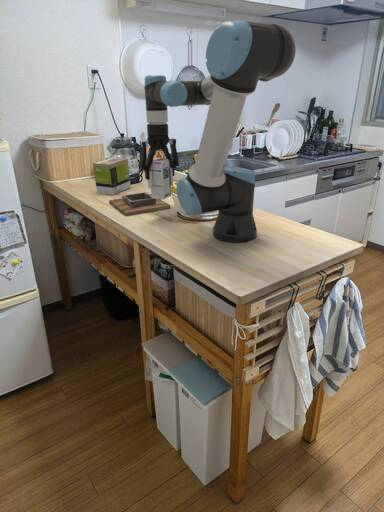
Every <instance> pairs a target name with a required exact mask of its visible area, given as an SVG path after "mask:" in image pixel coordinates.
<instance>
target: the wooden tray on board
mask: <svg viewBox="0 0 384 512" xmlns="http://www.w3.org/2000/svg"><path fill="white" fill-rule="evenodd" d="M108 202H109V205H111V206H112V207H113V208H114V209H115V210H116V211H118V212H119V213H121V214H122V215H123V216H125V217H130V216H134V215H135V216H136V215H141V214H145V213H146V214H147V213H151V212H152V213H153V212H157V211H165V210H170V209H171V204H169V203H168V202H166V201H164V200H163V199H154V198H152V197H151V193H147V192H146V191H145V192H138V193H132V194H131V193H130V194H125V195H121V198H115V199H109V200H108Z"/></svg>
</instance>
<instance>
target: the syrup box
mask: <svg viewBox="0 0 384 512" xmlns="http://www.w3.org/2000/svg"><path fill="white" fill-rule="evenodd" d="M150 171H152V184H153V189H150V194H151V197H152V198H154V199H161V200H162V201H164V200H165V199H168V198H169V197H171V196H172V187H171V185H170V166H169V160H168V159H167V158H166V157H155V158H153V161H152V164H151V167H150Z"/></svg>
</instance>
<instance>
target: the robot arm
mask: <svg viewBox="0 0 384 512" xmlns="http://www.w3.org/2000/svg"><path fill="white" fill-rule="evenodd" d="M205 49H206V50H205V59H206V62H205V65H206V66H205V67H206V69H207V72H208V74H209V75H208V76H206V77H205V78H202V79H201V80H167V77H166V76H165V75H162V74H156V75H155V74H153V75H148V74H147V75H146V76H144V87H143V88H144V89H143V90H144V97H145V98H144V99H145V109H146V110H145V113H146V115H145V116H146V123H148V124H146V130H147V131H146V132H147V139H146V140H140V141H139V145H140V146H139V147H140V155H139V158H140V159H139V169H140V170H143V171H144V179H145V180H147V187H148V188H149V189H150V190H151V189H153V184H152V171H150V167H151V164H152V161H153V159H155V158H154V157H155V155H156V153H157V151H162V152H163V155H164V158H167V159H168V160H169V166H170V185H171V186H174V178H173V177H175V173H176V172H175V169H176V168H177V167H178V166H179V165H180V162H179V157H178V156H179V155H178V150H177V139H175V138H170V137H169V124H168V122H169V118H168V117H169V115H168V107H169V108H174V107H175V108H176V107H181V106H182V107H184V106H208V107H209V108H208V111H207V115H206V118H205V122H204V127H203V131H202V136H201V138H200V139H201V140H200V143H199V148H198V152H197V154H196V155H197V156H196V159H195V163H193V164H192V165H190V167H189V168H188V171H187V176H186V177H182V178H179V179H178V181H177V183H176V196H177V199H178V203H179V205H180V206H181V209H182V210H183V211H184V213H186V214H188V215H190V216H197V215H199V216H200V215H202V214H206V213H211V212H212V213H213V212H215V211H218V214H217V216H216V219H215V222H214V226H213V228H212V235H213V237H215V238H216V239H217V240H220V241H222V242H227V243H246V242H249V241H252V240H254V239H256V237H257V225H256V221H255V218H254V214H253V212H254V199H255V198H254V197H255V189H256V188H255V186H256V182H255V181H256V175H255V173H254V171H253V170H252V169H251V170H250V169H248V168H244V167H238V166H229V165H228V166H226V164H227V160H228V158H229V154H230V150H231V147H232V144H233V141H234V138H235V135H236V132H237V129H238V125H239V122H240V119H241V116H242V113H243V110H244V106H245V103H246V100H247V97H248V96H249V95H252V94H253V93H255V91H256V89H257V85H258V83H259V81H260V82H263V83H264V82H266V83H267V82H269V81H272V80H274V79H276V78H279V77H281V76H283V75H284V74H285V73H287V71H289V69H290V68H291V67H292V65H293V63H294V61H295V57H296V52H297V51H296V49H297V48H296V42H295V39H294V37H293V35H292V33H291V32H290V31H289V30H288V29H287V28H286V27H285V26H283V25H280V24H278V23H266V22H265V23H263V22H254V21H245V20H242V19H241V20H239V19H238V20H235V21H234V20H226V21H224V22H222V23H221V24H220V25H218V26H217V27H216V28H215V29H214V30H213V32H212V33H211V35H210V37H209V39H208V42H207V46H206V48H205ZM168 145H169V148H168ZM148 146H149V149H148V150H147V148H148ZM169 149H170V151H169ZM147 151H148V154H147ZM170 152H171V153H170Z"/></svg>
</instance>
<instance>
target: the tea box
mask: <svg viewBox="0 0 384 512" xmlns="http://www.w3.org/2000/svg"><path fill="white" fill-rule="evenodd" d="M92 165H93V173H94V180H95V188H96V192H97V194H101V195H102V194H103V195H107V196H108V195H111V196H114V195H116V194H118V193H121V192H123V191H125V190H128V189H130V188H131V187H132V186H131V179H130V178H131V177H130V169H129V159H128V158H122V157H121V158H120V157H109V158H106V159H102V160H100V161H96V162H92Z"/></svg>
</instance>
